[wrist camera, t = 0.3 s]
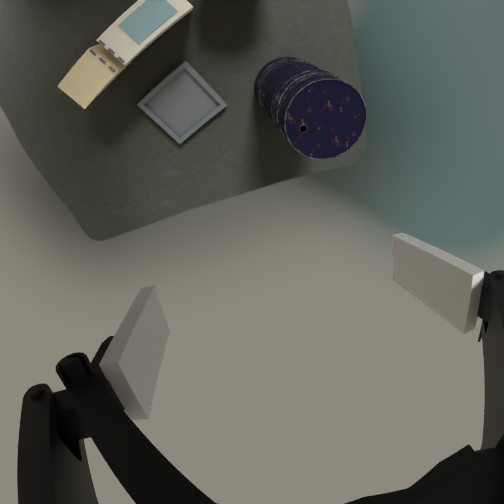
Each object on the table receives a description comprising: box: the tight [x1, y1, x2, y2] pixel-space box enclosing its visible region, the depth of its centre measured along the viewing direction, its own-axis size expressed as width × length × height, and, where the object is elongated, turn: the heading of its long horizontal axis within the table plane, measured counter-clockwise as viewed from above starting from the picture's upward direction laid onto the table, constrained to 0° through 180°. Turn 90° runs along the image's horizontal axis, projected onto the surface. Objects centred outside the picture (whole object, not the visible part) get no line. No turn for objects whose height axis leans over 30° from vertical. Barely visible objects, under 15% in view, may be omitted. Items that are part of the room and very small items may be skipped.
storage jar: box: [254, 57, 367, 159], centre depth 34 cm, size 10×10×15 cm
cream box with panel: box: [96, 0, 193, 65], centre depth 24 cm, size 4×9×11 cm, turn 126°
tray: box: [137, 60, 227, 144], centre depth 37 cm, size 9×9×1 cm
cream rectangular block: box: [58, 44, 135, 109], centre depth 27 cm, size 4×6×11 cm
